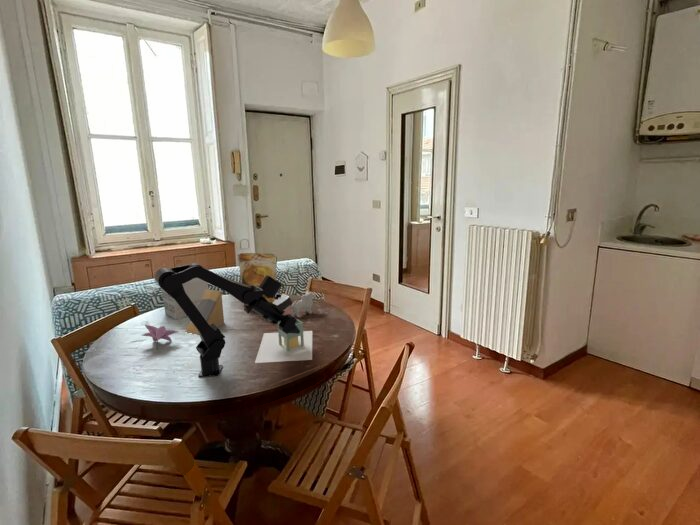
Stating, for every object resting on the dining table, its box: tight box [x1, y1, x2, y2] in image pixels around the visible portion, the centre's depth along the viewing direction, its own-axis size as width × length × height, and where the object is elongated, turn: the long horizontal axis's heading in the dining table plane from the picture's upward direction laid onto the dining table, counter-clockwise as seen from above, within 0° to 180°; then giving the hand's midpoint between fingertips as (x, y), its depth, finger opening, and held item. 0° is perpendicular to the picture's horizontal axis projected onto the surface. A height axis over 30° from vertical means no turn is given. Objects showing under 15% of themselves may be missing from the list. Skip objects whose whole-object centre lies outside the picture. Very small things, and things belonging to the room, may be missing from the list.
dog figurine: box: [291, 290, 317, 318], centre depth 173 cm, size 5×13×11 cm, turn 133°
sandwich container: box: [184, 288, 225, 336], centre depth 158 cm, size 9×15×15 cm, turn 158°
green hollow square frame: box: [277, 318, 304, 351], centre depth 140 cm, size 7×7×10 cm
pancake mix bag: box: [237, 252, 278, 312], centre depth 178 cm, size 7×19×28 cm, turn 79°
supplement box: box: [161, 278, 209, 320], centre depth 177 cm, size 17×13×18 cm
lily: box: [141, 324, 179, 350], centre depth 142 cm, size 12×12×10 cm
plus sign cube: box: [284, 337, 299, 348], centre depth 140 cm, size 4×4×4 cm
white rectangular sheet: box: [254, 330, 313, 364], centre depth 141 cm, size 25×20×1 cm
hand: (293, 328), depth 140 cm, fingers open, 9 cm apart
